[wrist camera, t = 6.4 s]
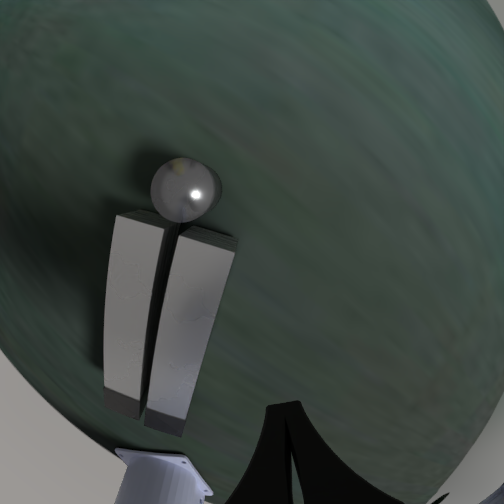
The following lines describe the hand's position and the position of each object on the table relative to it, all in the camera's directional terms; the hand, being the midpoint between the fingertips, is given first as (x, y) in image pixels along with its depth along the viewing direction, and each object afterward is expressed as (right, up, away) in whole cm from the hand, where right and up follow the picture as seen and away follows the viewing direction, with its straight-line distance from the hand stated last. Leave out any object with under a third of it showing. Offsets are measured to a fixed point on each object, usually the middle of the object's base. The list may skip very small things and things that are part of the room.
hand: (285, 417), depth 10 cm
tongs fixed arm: (-7, +4, +5) cm, 10 cm away
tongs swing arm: (-5, +2, +6) cm, 8 cm away
